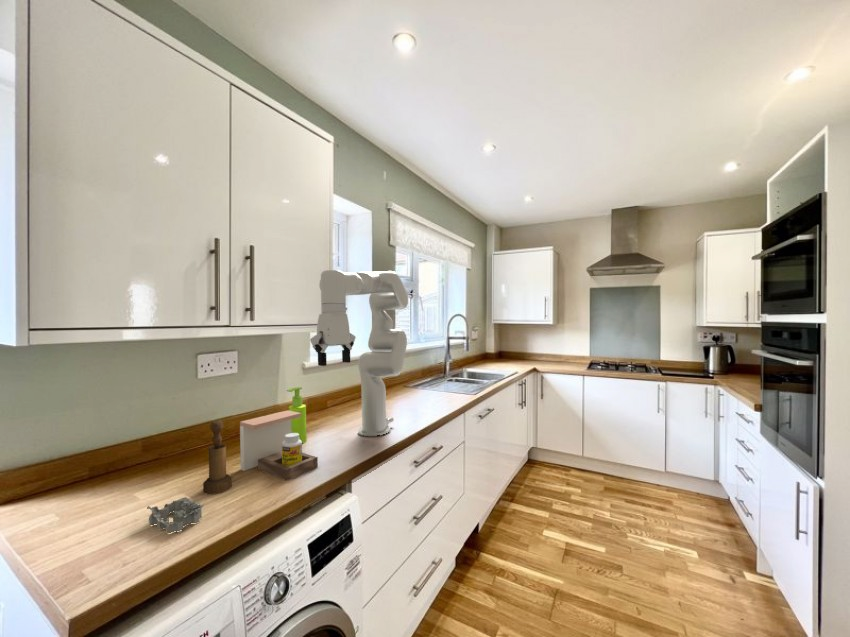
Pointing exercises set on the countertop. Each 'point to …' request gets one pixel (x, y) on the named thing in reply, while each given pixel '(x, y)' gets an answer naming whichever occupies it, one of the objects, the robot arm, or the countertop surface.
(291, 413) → the pink-topped white panel
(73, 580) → the countertop surface
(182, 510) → the egg carton
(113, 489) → the countertop surface
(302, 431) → the soap dispenser
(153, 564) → the countertop surface
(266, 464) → the socket block
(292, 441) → the supplement bottle
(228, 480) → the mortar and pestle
